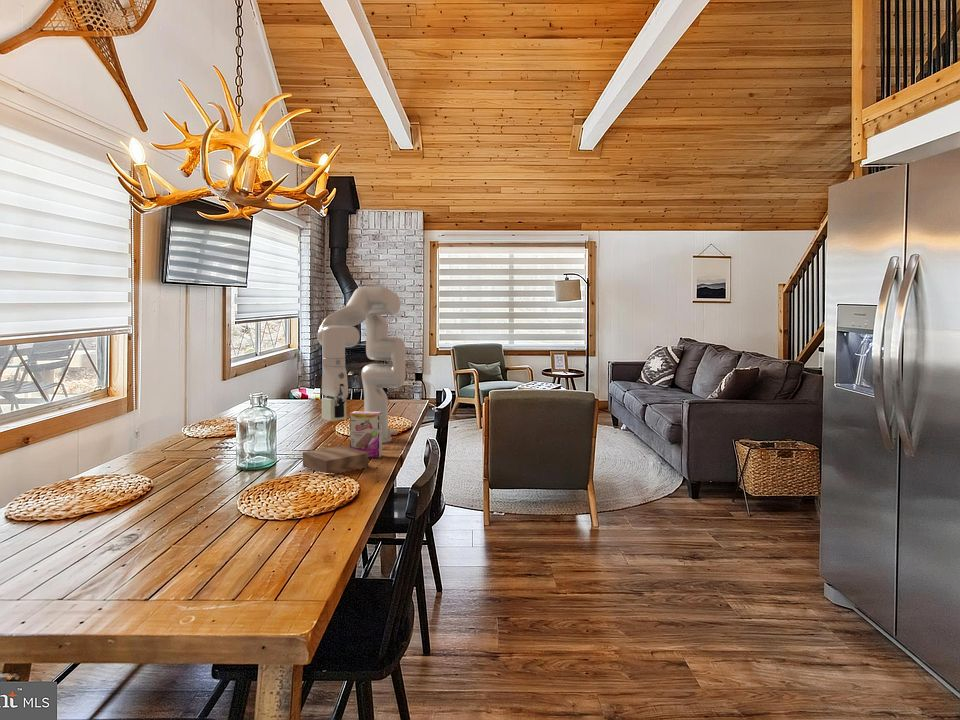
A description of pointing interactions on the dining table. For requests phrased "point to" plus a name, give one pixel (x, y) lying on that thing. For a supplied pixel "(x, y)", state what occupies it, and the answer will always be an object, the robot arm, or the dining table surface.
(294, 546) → the dining table surface
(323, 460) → the block
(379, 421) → the candy bar box
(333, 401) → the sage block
